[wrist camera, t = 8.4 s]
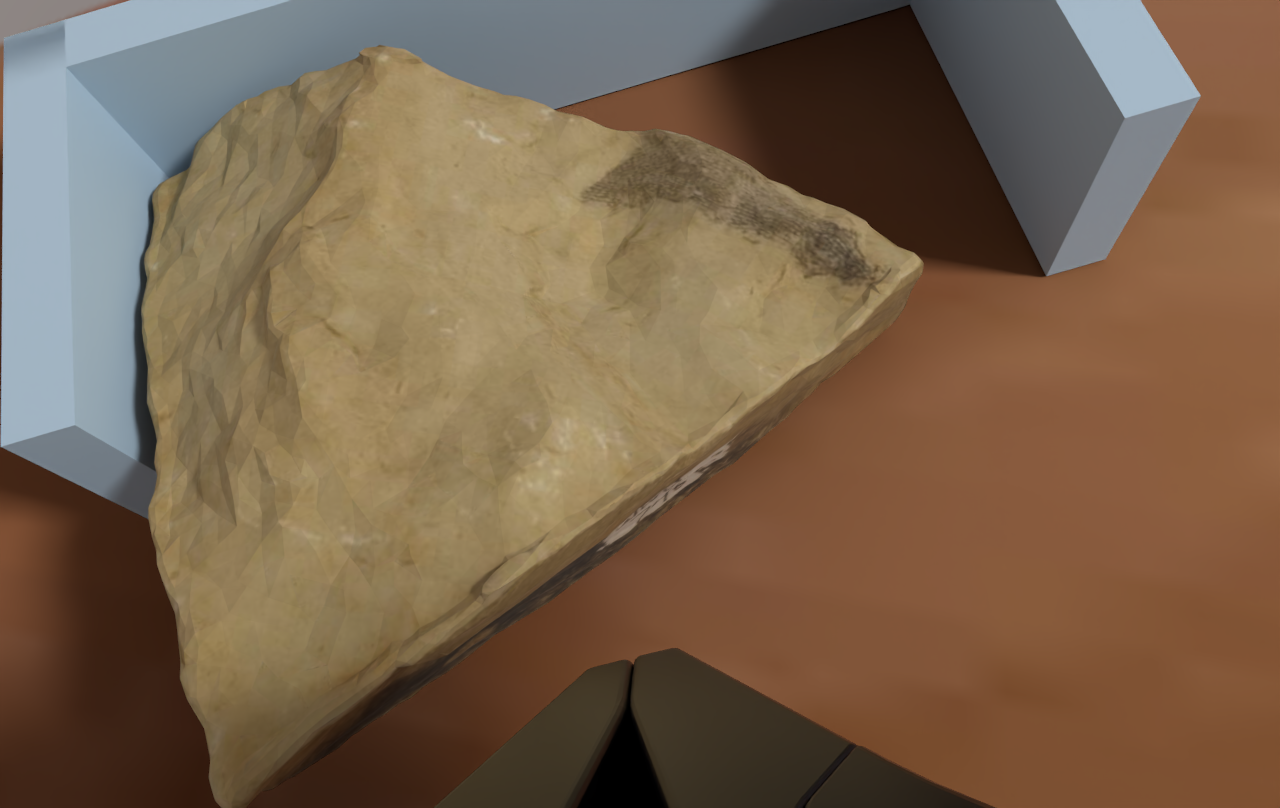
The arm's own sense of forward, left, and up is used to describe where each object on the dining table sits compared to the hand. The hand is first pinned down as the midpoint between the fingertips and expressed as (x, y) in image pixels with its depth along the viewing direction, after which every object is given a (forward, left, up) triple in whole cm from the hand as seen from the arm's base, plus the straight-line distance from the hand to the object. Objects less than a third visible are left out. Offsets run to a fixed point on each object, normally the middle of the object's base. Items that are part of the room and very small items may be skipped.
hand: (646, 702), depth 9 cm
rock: (+3, 0, -4) cm, 5 cm away
